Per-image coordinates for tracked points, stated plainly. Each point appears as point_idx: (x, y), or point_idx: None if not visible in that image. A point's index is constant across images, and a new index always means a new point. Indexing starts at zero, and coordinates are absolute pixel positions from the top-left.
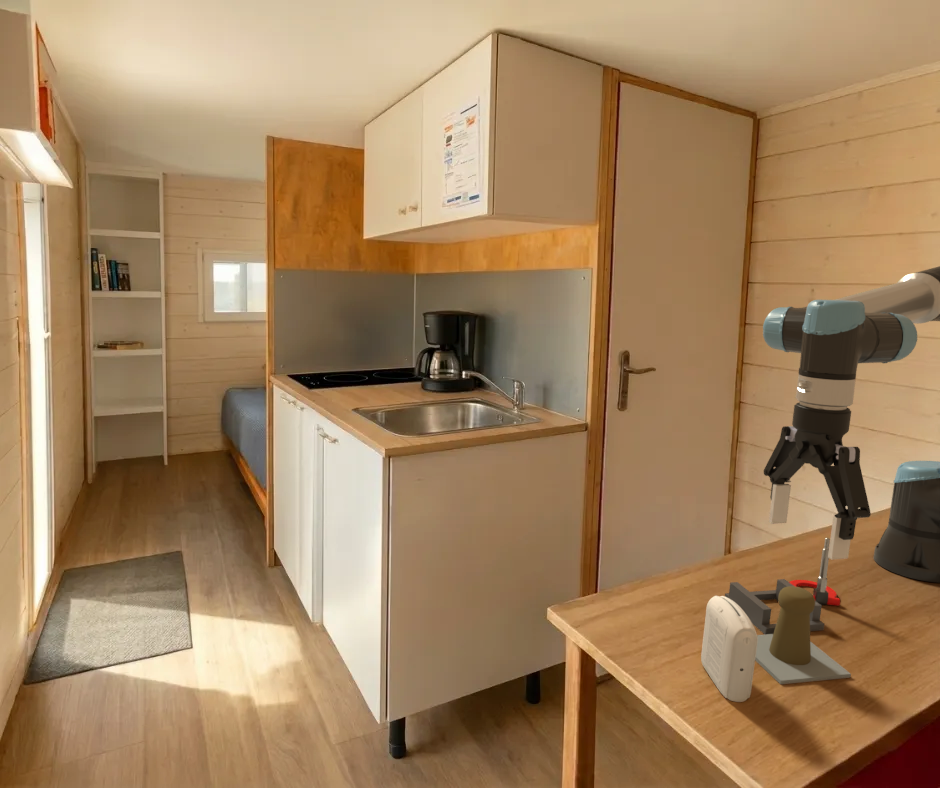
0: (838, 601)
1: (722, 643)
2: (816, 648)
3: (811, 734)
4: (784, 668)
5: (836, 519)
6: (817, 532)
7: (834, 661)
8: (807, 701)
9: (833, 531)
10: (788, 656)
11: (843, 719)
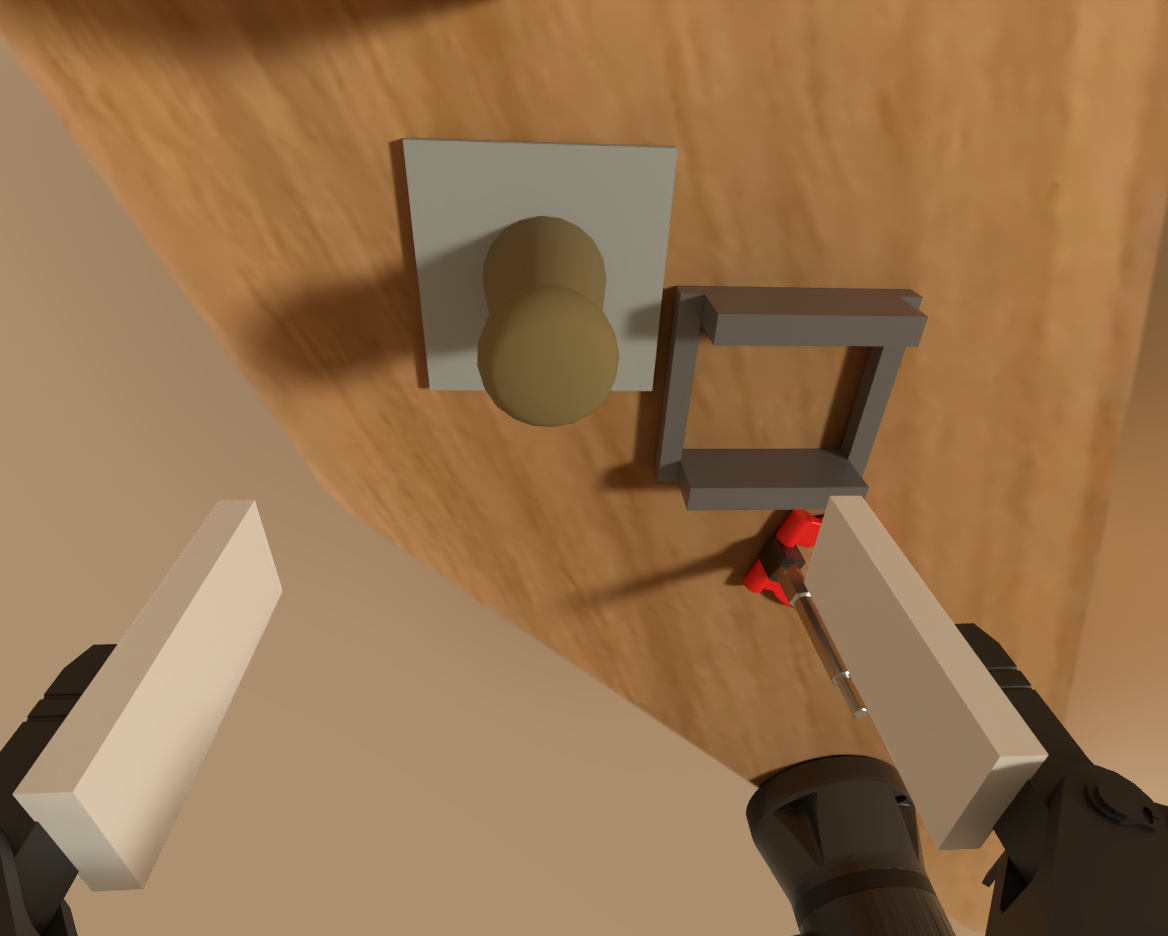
0: (748, 584)
1: None
2: None
3: (133, 49)
4: (470, 205)
5: (42, 761)
6: None
7: None
8: (314, 169)
9: (135, 651)
10: (498, 245)
11: (230, 222)
